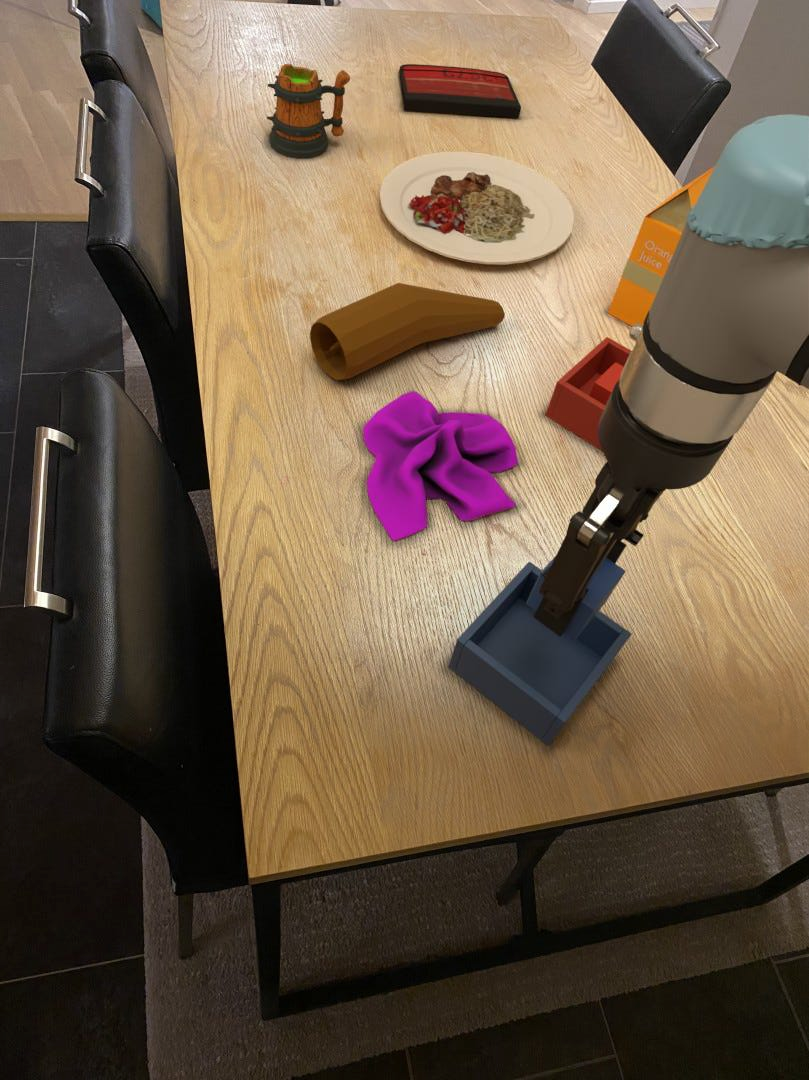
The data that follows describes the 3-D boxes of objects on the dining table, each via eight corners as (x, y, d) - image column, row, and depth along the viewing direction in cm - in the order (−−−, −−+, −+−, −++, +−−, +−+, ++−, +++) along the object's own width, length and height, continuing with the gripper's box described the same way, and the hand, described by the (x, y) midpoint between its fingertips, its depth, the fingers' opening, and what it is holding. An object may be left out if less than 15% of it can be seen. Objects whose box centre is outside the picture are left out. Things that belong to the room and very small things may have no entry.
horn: (486, 335, 105) (343, 409, 94) (448, 271, 104) (300, 338, 93) (517, 308, 98) (366, 385, 87) (475, 239, 97) (318, 307, 86)
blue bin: (612, 660, 74) (632, 633, 70) (548, 746, 68) (565, 722, 64) (516, 591, 78) (529, 561, 73) (447, 667, 72) (456, 639, 68)
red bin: (671, 416, 95) (689, 383, 91) (625, 466, 90) (642, 433, 85) (593, 370, 99) (607, 336, 94) (544, 415, 93) (556, 381, 89)
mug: (266, 157, 121) (262, 79, 112) (269, 125, 127) (266, 49, 117) (347, 163, 122) (351, 87, 113) (347, 131, 128) (350, 56, 119)
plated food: (608, 224, 120) (615, 204, 117) (487, 300, 105) (492, 279, 102) (465, 143, 130) (468, 123, 127) (338, 203, 115) (338, 182, 113)
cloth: (373, 387, 93) (377, 348, 88) (522, 414, 93) (534, 376, 88) (337, 531, 80) (339, 494, 75) (511, 562, 80) (524, 527, 75)
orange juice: (683, 310, 108) (748, 175, 92) (654, 339, 104) (718, 202, 88) (636, 285, 111) (691, 149, 95) (606, 312, 106) (659, 174, 90)
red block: (636, 412, 94) (651, 382, 90) (616, 433, 92) (630, 403, 88) (602, 392, 96) (615, 361, 92) (582, 412, 93) (594, 381, 89)
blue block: (605, 602, 65) (626, 570, 61) (574, 640, 62) (594, 610, 58) (557, 567, 66) (574, 534, 62) (525, 603, 64) (540, 571, 60)
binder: (521, 105, 135) (404, 97, 132) (519, 119, 137) (403, 111, 134) (507, 68, 145) (398, 60, 142) (505, 82, 146) (397, 74, 144)
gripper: (690, 306, 51) (586, 516, 70) (541, 449, 42) (468, 645, 61) (793, 363, 48) (656, 563, 67) (660, 526, 39) (545, 705, 58)
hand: (567, 601), depth 64 cm, fingers closed on blue block, 5 cm apart
